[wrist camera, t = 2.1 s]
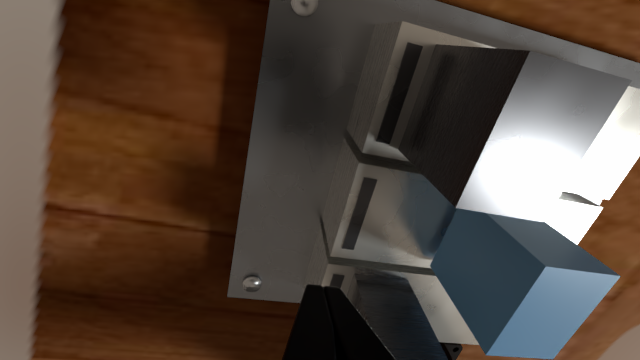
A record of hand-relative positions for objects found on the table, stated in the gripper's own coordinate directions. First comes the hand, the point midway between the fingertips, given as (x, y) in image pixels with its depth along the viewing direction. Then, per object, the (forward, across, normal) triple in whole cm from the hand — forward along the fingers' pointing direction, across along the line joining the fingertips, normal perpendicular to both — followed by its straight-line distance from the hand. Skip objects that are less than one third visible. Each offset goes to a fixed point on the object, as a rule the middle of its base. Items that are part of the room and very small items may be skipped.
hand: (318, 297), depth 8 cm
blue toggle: (+4, -7, 0) cm, 8 cm away
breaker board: (+9, -7, 0) cm, 11 cm away
